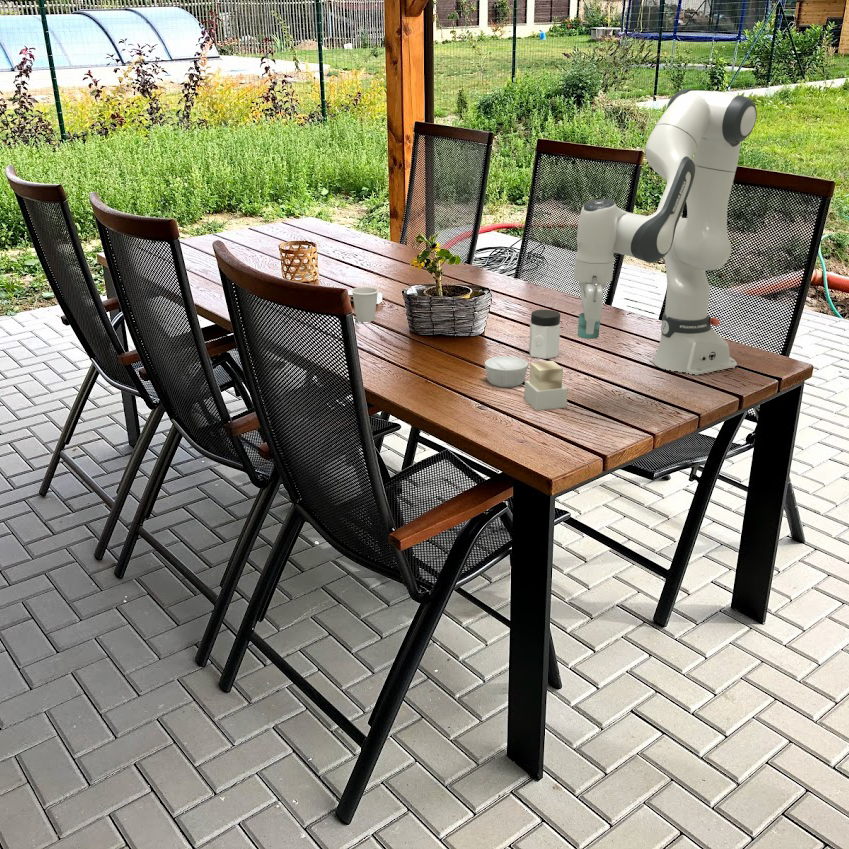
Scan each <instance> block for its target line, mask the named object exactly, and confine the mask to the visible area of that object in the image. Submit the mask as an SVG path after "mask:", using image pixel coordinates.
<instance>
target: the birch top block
mask: <svg viewBox="0 0 849 849" xmlns="http://www.w3.org/2000/svg"><path fill="white" fill-rule="evenodd" d="M563 371H564V368H563V367H562V366H560V365H559V364H558V363H556V362H555V361H554V360H544V361H538V362H537V361H536V362H529V377H528V378H529V382H530V383H531V384H532V385H533V386H534V387H536V388H537V389H538V390H547V389H556V388H562V384H563V375H564V374H563V373H564V372H563Z"/></svg>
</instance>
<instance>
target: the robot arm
mask: <svg viewBox="0 0 849 849" xmlns="http://www.w3.org/2000/svg"><path fill="white" fill-rule="evenodd" d="M666 106H667V107H666V109H665V111H664V113H663V114H662V115H661V117H660V118H659V119H658V121H657V122H656V125H655V126H654V128H653V129H652V132H650V134H649V136H648V139H647V140H646V144H645V148H644V154H645V157H646V160H647V162H648V164H649V166H650V168H652V169H653V171H654V172H655V173H657V175H659V177H662V178H663V179H664V180H666V185H665V187H664V188H665V189H664V190H663V193H662V196H661V198H660V201H659V203H658V206H657V209H656V210H655V212H653V213H652V214H650V215H644V214H637V213H633V212H629V211H626V210H624V209H622V208H619V206H617V204H616V202H615V201H613V200H611V199H608V198H599V199H593V200H589V201H587V202H585V203H584V204H583V206H582V208H581V210H580V213H579V217H578V222H577V230H576V243H577V250H576V254H575V258H574V270H573V271H574V272H573V280H575V281H577V282H578V286H579V292H580V299H581V305H582V311H583V312H582V313H584V317H585V320H586V333H587V334H593V333H594V326H595V322H596V321H600V322H601V319H602V311H603V310H602V309H603V300H604V299H603V298H604V297H603V295H604V294H603V293H604V291H603V289H605V288H607V283H610V282H612V281H613V273H614V263H615V256H614V253H617V254H619V255H622V256H627V257H632V258H635V259H637V260H639V261H640V260H641V261H643V262H646V263H651V264H652V263H656V262H658V261H660V260H661V259H663V258H664V265H665V272H666V295H665V296H666V298H665V307H664V312H663V314H662V319H661V326H660V327H661V335H660V340H659V344H658V348H657V350H656V354H655V356H654V359H653V362H652V363H653V365H655V366H657V367H658V368H660V369H662V370H665V369H666V371H669V370H671V371H670V372H674V371H678V372H677V373H682V372H686V373H685V374H688V373H689V374H688V375H692V374H695V375H694V376H699V375H698V374H702V373H706V372H711V371H716V370H721V369H726V368H731V367H735V366H737V367H738V364H737V361H736V360H735V359H734V358H733V357H731V356H730V347H729V344H728V342H727V341H726V340H725V339H724V338H723V337H722V336H720V335H719V334H718V333H717V332H715V330H713V329H712V326H714V327H718V326H719V325H720V319H719V318H716V317H711V316H710V315H708V309H709V301H710V293H711V287H710V286H711V285H710V283H709V281H708V278H707V274H706V271H716V270H718V269H720V268H722V267H723V266H724V265H725V264H727V262H728V261H729V260H730V256H731V254H732V244H731V241H730V239H729V236H728V208H729V207H728V205H729V200H730V199H729V198H730V195H731V191H732V187H733V184H734V180H735V175H736V171H737V168H738V162H739V158H740V151H741V142H743V141H744V140H746V139H747V138H748V137H749V136H750V135H751V133H752V132H753V130H754V128H755V126H756V122H757V117H758V116H757V115H758V114H757V113H758V112H757V107H756V104H755V102H754V101H753V100H752V99H750V98H748V97H746V96H744V95H735V94H732V93H729V92H724V91H718V90H714V91H713V90H695V89H694V88H687V89H681V90H679V91H677V92H676V93H674V94H673V95H672V96H671V98H670V99H669V100H668V102H667V105H666ZM685 204H686V211H687V212H686V214H687V215H686V217H681V216H682V214H683V210H684V207H685ZM702 375H703V374H702Z"/></svg>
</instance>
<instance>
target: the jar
mask: <svg viewBox="0 0 849 849" xmlns="http://www.w3.org/2000/svg"><path fill="white" fill-rule="evenodd" d="M560 323H561V313H560V312H559V311H556V310H552V309H536V310H533V311H531V314H530V323H529V340H528V341H529V343H528V345H529V346H528V352H529V355H530V357H531V358H537V359H542V360H547V359H553V358H558V357H559V352H560V351H559V349H560V337H561V324H560Z"/></svg>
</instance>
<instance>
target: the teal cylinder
mask: <svg viewBox="0 0 849 849" xmlns="http://www.w3.org/2000/svg"><path fill="white" fill-rule="evenodd" d="M577 324H578V325H577V337H579V338H581V339H585V340H594V339H598V338H599V337H600V326H601V320H600V321H596V322H595V326H594V333H593V334H587V333H586V320H585V317H584V312H581V313H578V323H577Z"/></svg>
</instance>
